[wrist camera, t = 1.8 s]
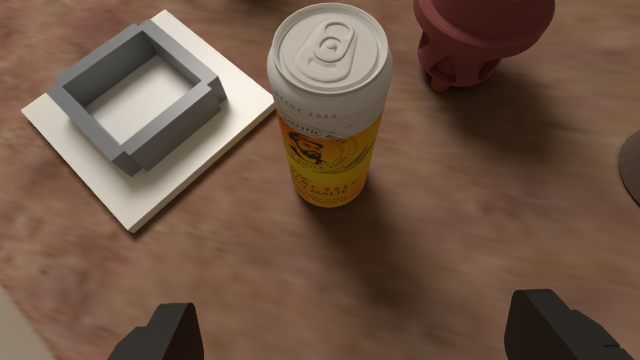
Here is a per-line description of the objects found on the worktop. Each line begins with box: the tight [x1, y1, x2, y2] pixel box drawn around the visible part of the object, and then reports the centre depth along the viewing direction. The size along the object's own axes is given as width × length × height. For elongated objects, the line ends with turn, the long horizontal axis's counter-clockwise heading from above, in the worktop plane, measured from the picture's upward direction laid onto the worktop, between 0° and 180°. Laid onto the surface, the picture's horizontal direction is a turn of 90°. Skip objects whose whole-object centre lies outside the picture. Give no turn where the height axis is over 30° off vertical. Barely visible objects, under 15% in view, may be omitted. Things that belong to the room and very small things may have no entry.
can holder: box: [21, 10, 276, 233], centre depth 31 cm, size 16×16×4 cm
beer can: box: [267, 3, 393, 207], centre depth 24 cm, size 6×6×15 cm
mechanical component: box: [413, 0, 555, 92], centre depth 29 cm, size 12×10×10 cm
